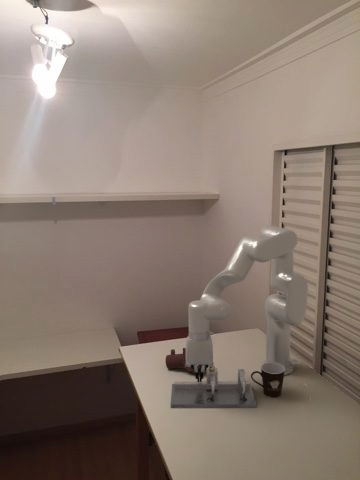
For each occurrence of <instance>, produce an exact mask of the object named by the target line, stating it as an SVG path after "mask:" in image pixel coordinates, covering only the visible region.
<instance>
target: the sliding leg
mask: <svg viewBox="0 0 360 480" xmlns="http://www.w3.org/2000/svg"><path fill="white" fill-rule="evenodd" d="M205 372H206V382H207V389H212V399H215V389H218V381H219V380H218V378H219V377H218V376H219V375H218V367H215V365H214V366H211V367H208V368H207V369H206V371H205Z"/></svg>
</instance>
